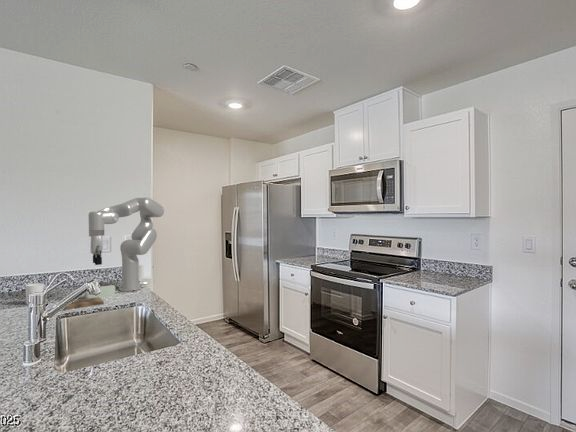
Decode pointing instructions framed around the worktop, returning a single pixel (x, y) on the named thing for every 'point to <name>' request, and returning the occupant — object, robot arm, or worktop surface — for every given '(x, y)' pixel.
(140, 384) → the worktop surface
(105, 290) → the housing
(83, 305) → the stub board
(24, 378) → the worktop surface
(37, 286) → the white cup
